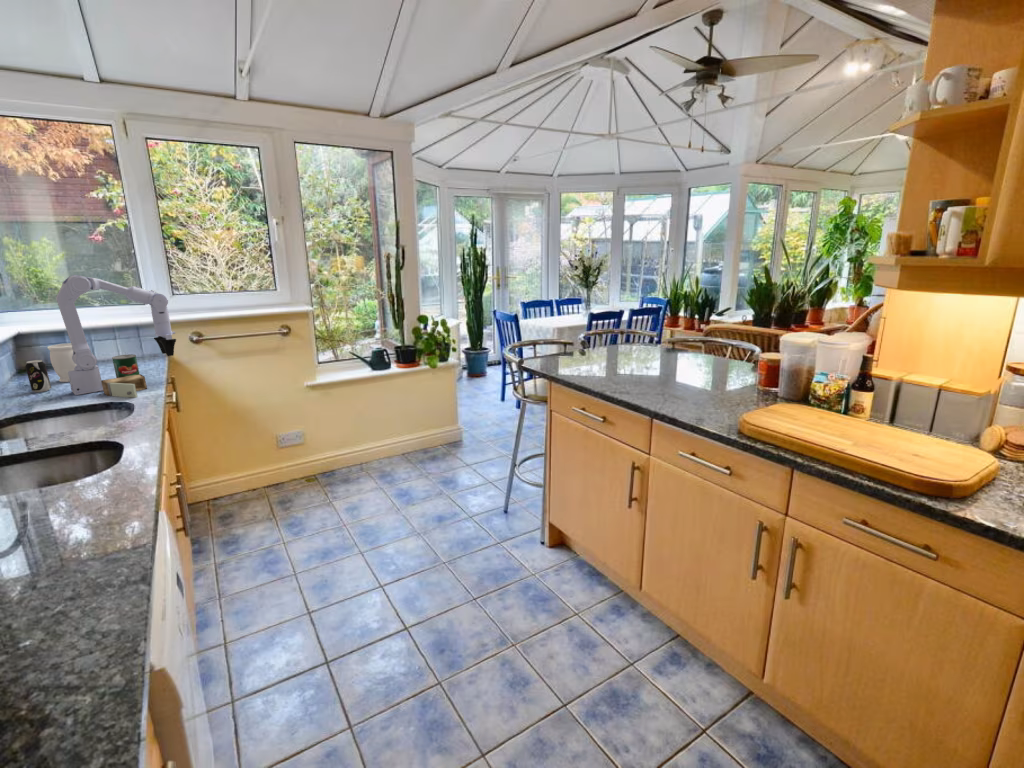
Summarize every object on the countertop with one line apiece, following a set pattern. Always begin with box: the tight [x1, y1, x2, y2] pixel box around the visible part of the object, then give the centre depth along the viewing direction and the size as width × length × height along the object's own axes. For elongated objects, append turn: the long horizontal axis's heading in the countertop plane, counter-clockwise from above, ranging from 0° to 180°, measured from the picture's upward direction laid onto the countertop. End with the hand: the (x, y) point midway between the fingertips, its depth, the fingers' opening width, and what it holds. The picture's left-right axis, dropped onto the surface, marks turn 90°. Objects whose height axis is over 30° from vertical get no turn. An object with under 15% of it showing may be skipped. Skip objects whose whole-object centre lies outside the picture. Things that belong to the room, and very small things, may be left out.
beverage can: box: [25, 359, 52, 393], centre depth 197 cm, size 6×6×12 cm
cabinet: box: [101, 373, 148, 397], centre depth 197 cm, size 13×6×5 cm, turn 138°
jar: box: [47, 342, 77, 383], centre depth 213 cm, size 11×10×15 cm
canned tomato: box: [111, 354, 140, 378], centre depth 209 cm, size 8×8×11 cm
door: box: [107, 383, 138, 398], centre depth 189 cm, size 12×2×5 cm, turn 78°
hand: (167, 354), depth 215 cm, fingers open, 7 cm apart
